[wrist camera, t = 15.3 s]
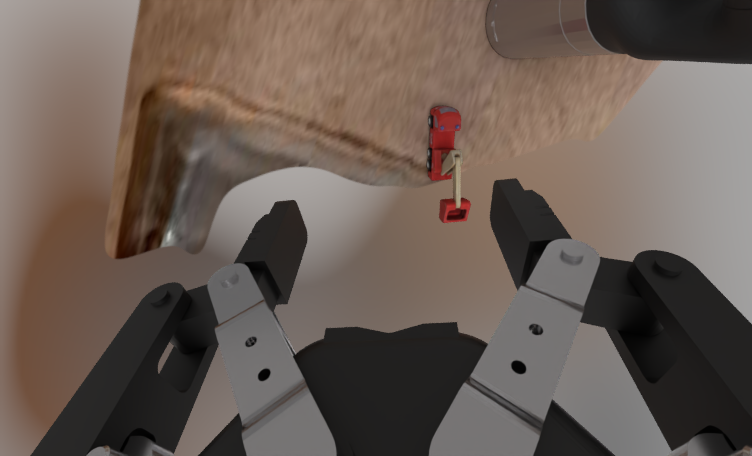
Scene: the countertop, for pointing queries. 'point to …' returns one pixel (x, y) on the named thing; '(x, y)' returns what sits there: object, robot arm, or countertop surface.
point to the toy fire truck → (446, 161)
